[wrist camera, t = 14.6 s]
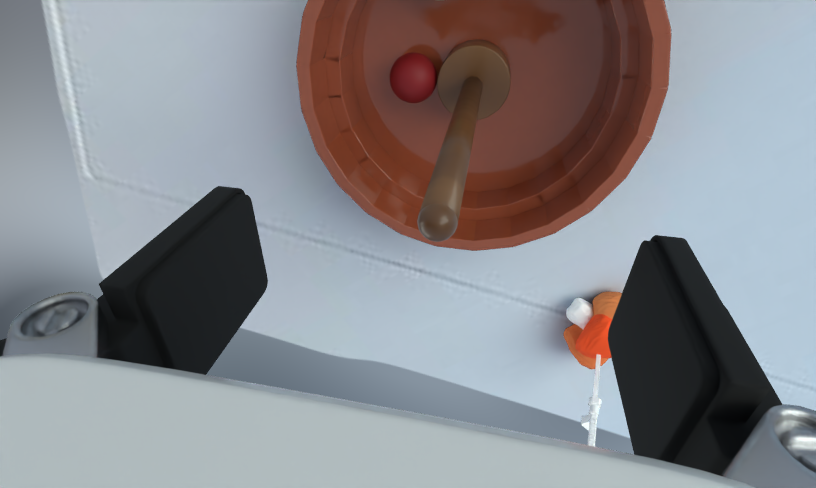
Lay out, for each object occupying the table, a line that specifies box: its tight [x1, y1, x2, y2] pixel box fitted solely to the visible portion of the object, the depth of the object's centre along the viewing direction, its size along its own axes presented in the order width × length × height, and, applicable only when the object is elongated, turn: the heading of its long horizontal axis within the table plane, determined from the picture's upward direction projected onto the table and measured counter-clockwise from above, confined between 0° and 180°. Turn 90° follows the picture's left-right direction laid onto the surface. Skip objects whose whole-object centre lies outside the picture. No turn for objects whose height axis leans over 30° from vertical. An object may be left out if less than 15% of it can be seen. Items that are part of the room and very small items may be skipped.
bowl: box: [296, 0, 671, 251], centre depth 27 cm, size 20×20×6 cm
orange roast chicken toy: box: [564, 292, 622, 447], centre depth 33 cm, size 6×10×12 cm, turn 166°
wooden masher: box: [417, 39, 511, 242], centre depth 21 cm, size 4×4×19 cm
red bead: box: [390, 52, 437, 103], centre depth 28 cm, size 3×3×3 cm
